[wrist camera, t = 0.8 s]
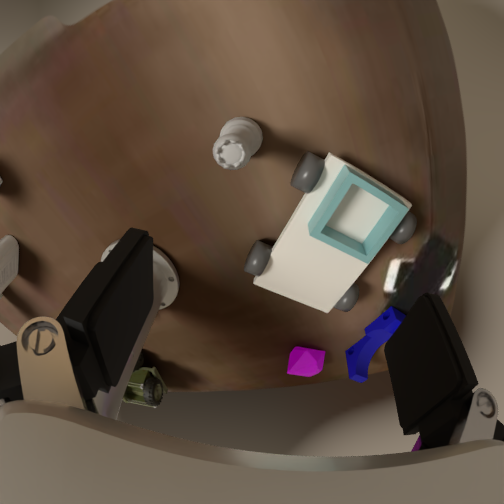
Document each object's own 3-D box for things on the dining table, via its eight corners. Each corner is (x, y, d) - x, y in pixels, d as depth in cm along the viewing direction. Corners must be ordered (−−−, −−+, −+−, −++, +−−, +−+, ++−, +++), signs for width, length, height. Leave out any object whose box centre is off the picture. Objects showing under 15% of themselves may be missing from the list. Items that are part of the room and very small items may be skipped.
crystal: (302, 363, 50) (303, 384, 46) (284, 349, 48) (283, 372, 44) (326, 352, 47) (329, 374, 44) (309, 337, 46) (310, 360, 42)
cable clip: (391, 305, 41) (401, 334, 36) (407, 315, 42) (417, 343, 37) (339, 347, 47) (343, 376, 42) (356, 355, 48) (361, 382, 43)
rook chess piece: (268, 149, 30) (265, 171, 23) (229, 161, 31) (214, 186, 24) (255, 110, 28) (247, 120, 21) (215, 123, 29) (195, 138, 22)
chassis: (335, 302, 41) (340, 330, 36) (242, 263, 38) (237, 291, 34) (413, 201, 31) (431, 222, 27) (311, 139, 29) (318, 151, 24)
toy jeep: (65, 333, 54) (43, 370, 45) (161, 348, 51) (144, 396, 42) (87, 366, 60) (71, 400, 51) (177, 382, 58) (165, 425, 49)
